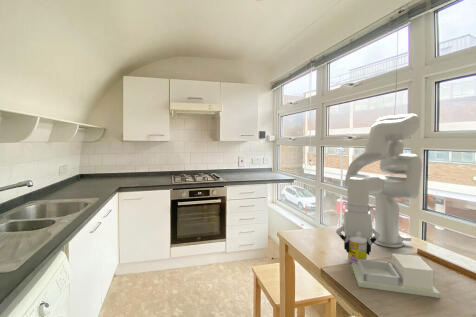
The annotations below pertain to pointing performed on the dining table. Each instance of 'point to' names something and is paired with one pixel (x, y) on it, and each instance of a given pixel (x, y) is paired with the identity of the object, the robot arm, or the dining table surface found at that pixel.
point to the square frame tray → (397, 275)
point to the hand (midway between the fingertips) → (357, 251)
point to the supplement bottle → (357, 248)
